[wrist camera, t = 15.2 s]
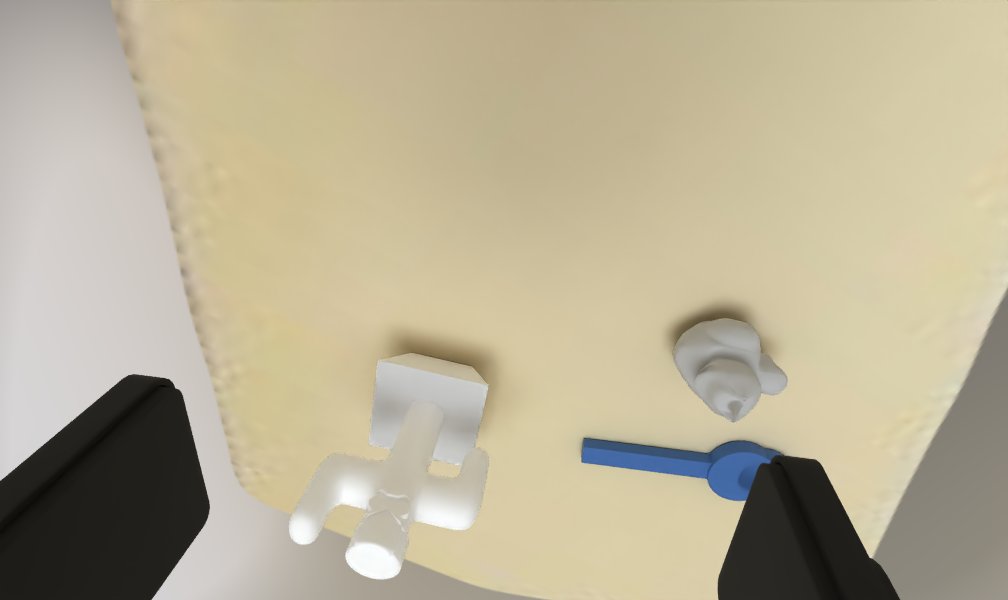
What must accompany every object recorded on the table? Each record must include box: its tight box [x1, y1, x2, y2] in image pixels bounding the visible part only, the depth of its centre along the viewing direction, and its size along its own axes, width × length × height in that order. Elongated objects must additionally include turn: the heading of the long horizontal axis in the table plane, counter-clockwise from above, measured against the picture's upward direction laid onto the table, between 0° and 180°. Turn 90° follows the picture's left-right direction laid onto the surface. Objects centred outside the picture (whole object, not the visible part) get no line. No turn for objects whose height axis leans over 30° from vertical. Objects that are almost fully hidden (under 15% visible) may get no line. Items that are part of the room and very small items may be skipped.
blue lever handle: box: [581, 438, 782, 501], centre depth 42 cm, size 15×5×1 cm, turn 86°
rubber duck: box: [673, 318, 788, 422], centre depth 34 cm, size 5×7×8 cm
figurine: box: [289, 353, 489, 579], centre depth 35 cm, size 7×9×15 cm
